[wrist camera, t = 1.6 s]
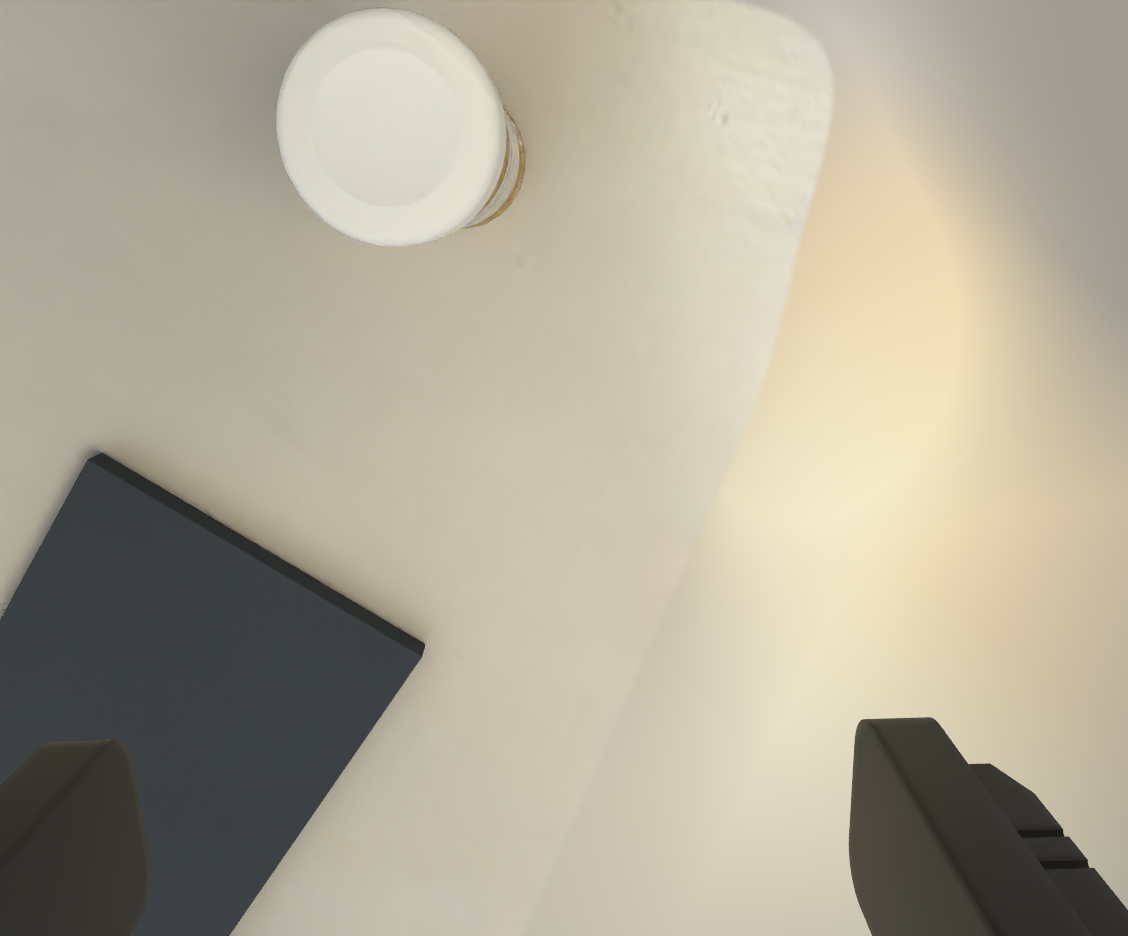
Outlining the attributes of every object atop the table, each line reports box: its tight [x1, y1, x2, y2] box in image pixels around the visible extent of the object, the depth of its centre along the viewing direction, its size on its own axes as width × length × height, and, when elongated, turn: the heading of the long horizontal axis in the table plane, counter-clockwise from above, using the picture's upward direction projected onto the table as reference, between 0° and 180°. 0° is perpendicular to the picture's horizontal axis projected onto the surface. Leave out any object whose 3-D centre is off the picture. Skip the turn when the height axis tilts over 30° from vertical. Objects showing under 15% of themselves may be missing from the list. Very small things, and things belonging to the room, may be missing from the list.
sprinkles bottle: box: [276, 8, 525, 247], centre depth 25 cm, size 5×5×13 cm
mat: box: [0, 453, 425, 936], centre depth 37 cm, size 24×14×1 cm, turn 146°
